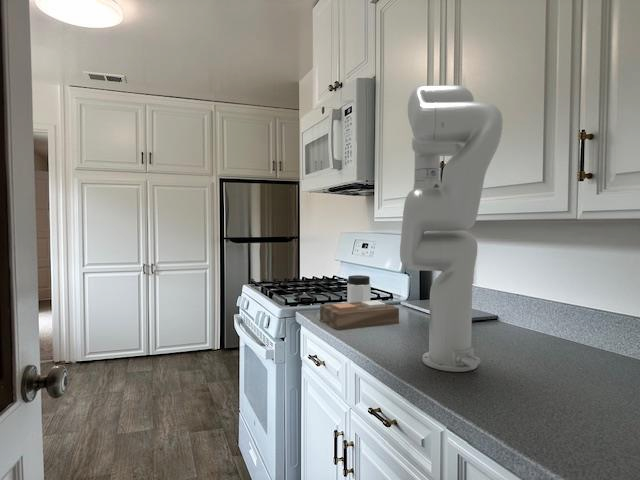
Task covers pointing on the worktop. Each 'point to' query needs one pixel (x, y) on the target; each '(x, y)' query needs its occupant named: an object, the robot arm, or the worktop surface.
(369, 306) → the offwhite key
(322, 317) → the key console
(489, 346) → the worktop surface
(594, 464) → the worktop surface
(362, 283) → the jar
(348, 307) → the terracotta key
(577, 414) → the worktop surface
